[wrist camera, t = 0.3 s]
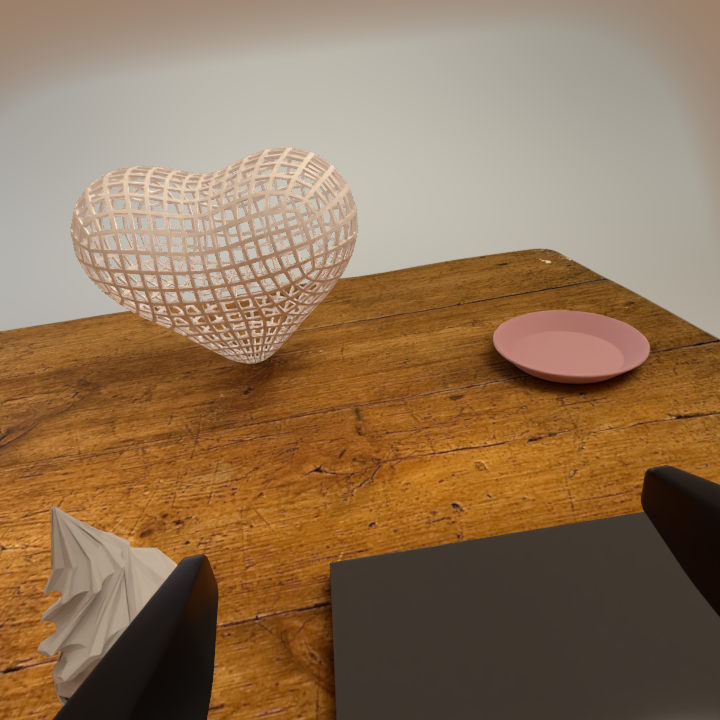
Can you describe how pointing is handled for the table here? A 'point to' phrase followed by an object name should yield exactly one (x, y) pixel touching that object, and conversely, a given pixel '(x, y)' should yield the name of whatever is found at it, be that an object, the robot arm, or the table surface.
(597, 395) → the table surface
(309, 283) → the heart
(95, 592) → the ice cream cone
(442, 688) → the serving board
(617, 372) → the plate
